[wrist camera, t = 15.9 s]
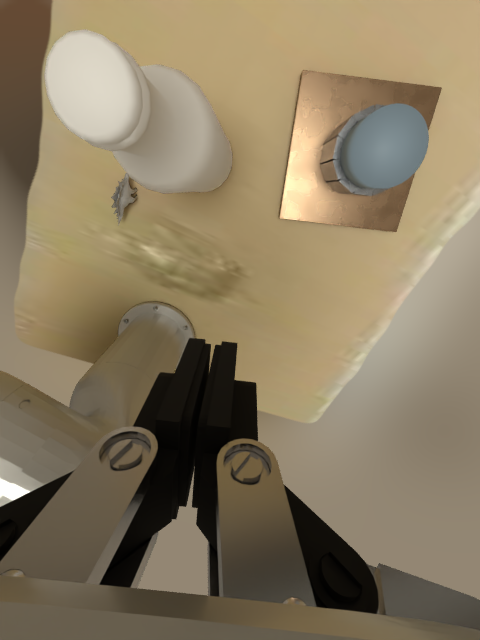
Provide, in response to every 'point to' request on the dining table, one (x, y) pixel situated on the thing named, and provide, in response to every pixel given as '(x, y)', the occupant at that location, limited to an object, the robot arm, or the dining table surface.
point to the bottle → (138, 114)
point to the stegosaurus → (123, 196)
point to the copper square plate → (325, 148)
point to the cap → (385, 147)
